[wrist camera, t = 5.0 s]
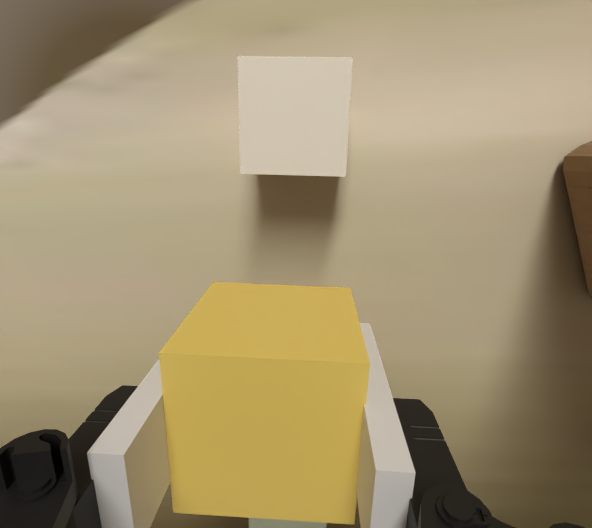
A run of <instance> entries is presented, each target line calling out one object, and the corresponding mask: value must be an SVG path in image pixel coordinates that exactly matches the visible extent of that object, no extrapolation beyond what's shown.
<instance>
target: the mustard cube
mask: <svg viewBox="0 0 592 528" xmlns="http://www.w3.org/2000/svg"><path fill="white" fill-rule="evenodd" d="M159 360H160V371H161V382H162V393H163V404H164V415H165V427H166V438H167V447H168V457H169V467H170V477H171V493H172V504H173V513H186V514H201V515H216V516H231V517H247V518H262V519H277V520H292V521H308V522H323V523H338V524H353V525H354V523H355V513H356V503H357V492H356V490H357V478H358V466H359V454H360V443H361V431H362V419H363V408H364V404H366V401H367V391H368V380H369V370H370V361H369V357H368V353H367V350H366V346H365V342H364V338H363V334H362V331H361V327H360V323H359V319H358V315H357V312H356V308H355V304H354V300H353V296H352V293H351V289H350V288H341V287H317V286H294V285H270V284H247V283H223V282H213V283H212V284H211V286H210V287H209V288H208V290H207V291H206V292H205V294H204V295H203V296H202V297H201V299H200V300H199V301H198V303H197V304H196V305H195V307H194V308H193V309H192V311H191V312H190V313H189V314H188V316H187V317H186V318H185V320H184V321H183V322H182V324H181V325H180V326H179V327H178V329H177V330H176V331H175V333H174V334H173V335H172V337H171V338H170V339H169V340H168V342H167V343H166V344H165V346H164V347H163V348H162V350H161V351H160V352H159Z"/></svg>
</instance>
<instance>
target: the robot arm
mask: <svg viewBox="0 0 592 528" xmlns="http://www.w3.org/2000/svg"><path fill="white" fill-rule="evenodd" d="M360 327H361V331H362V334H363V338H364V342H365V346H366V350H367V353H368V357H369V361H370V370H369V380H368V391H367V401H366V404H364V408H363V419H362V431H361V443H360V454H359V466H358V478H357V490H356V492H357V501H358V510H359V518H360V527H361V528H515V527H512V526H510V525H507V524H505V523H503V522H501V521H499V520H497V519H496V518H494V517H492V515H491V513H490V511H489V510H488V509H487V507H486V506H485V505H484V504H483V503H482V501H481V500H480V499H478V498H477V497H476V496H474V495H473V494H471V493H470V492H469V491H467V489H466V487H465V484H464V482H463V480H462V478H461V475H460V473H459V471H458V469H457V466H456V464H455V462H454V460H453V457H452V455H451V453H450V451H449V448H448V446H447V444H446V442H444V437H443V435H442V433H441V430H440V429H439V426H438V423H437V421H436V419H435V417H434V414H433V412H432V411H431V410H430V409H429V408H428V407H427V406H426V405H425V404H424V403H423V402H422V401H421V400H418V399H398V398H393V397H392V394H391V391H390V388H389V384H388V381H387V378H386V374H385V371H384V368H383V365H382V361H381V358H380V355H379V352H378V348H377V345H376V342H375V338H374V335H373V332H372V329H371V325H370V323H360ZM170 482H171V477H170V467H169V457H168V447H167V438H166V427H165V415H164V404H163V393H162V382H161V371H160V360H158V361H157V362H156V364H155V365H154V366H153V367H152V369H151V370H150V371H149V373H148V374H147V375H146V377H145V378H144V379H143V380H142V382H141V383H140V384H139V386H121V387H119V388H118V389H116V390H115V391H113V392H112V393H110V394H109V395H107V396H106V397H105V398H104V399H103V400H102V402H101V403H100V404H99V405H98V406H97V407H96V408H95V411H94V412H92V413H91V414H90V415H89V416H88V418H87V419H86V421H85V423H84V422H83V423H82V425H81V426H80V427H79V428H78V429H77V430H76V431H75V433H74V434H73V435H72V436H71V437H70V438H69V439H68V438H67V436H66V434H65V433H64V432H61V431H59V430H51V429H44V430H39V431H35V432H30V433H28V434H25V435H23V436H20V437H18V438H16V439H14V440H12V441H11V442H9V443H8V444H6V445H4V446H3V447H1V448H0V528H150V526H151V524H152V522H153V520H154V517H155V515H156V513H157V511H158V508H159V506H160V504H161V502H162V499H163V497H164V495H165V493H166V490H167V488H168V486H169V484H170ZM550 528H584V527H582V526H578V525H574V524H570V523H559V524H553V525H552V526H551V527H550Z"/></svg>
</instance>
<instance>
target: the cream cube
mask: <svg viewBox="0 0 592 528" xmlns="http://www.w3.org/2000/svg"><path fill="white" fill-rule="evenodd" d="M352 65H353V57H278V56H238V97H239V144H240V174H265V175H303V176H341V177H346V165H347V148H348V131H349V115H350V98H351V82H352Z"/></svg>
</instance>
